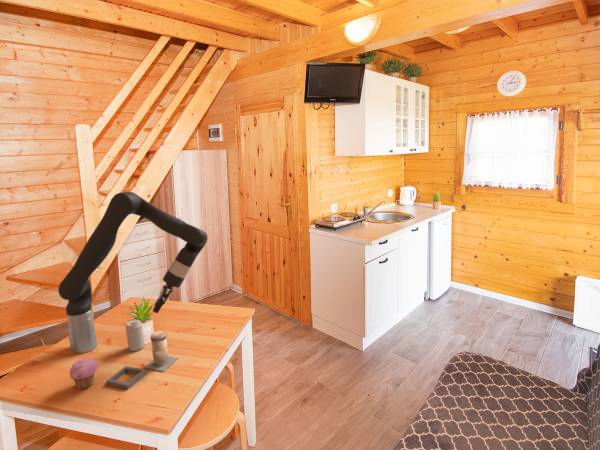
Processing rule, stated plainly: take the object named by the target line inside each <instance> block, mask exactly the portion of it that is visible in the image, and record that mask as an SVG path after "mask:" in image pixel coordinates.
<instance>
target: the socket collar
mask: <svg viewBox="0 0 600 450" xmlns="http://www.w3.org/2000/svg"><path fill="white" fill-rule="evenodd" d="M126 373H130V374H135V376H134V377H132V378H131V379H129V381H128V382H125V381H120V380H118V379H119V378H120V377H122V376H123V375H124V374H126ZM145 375H147V369H145V368H144V369H143V368H137V367H133V366H128V365H125V366H123V367H122V368H121V369H119V370H118V371H117V372H116V373H114V374H113V375H112V376H111V377H109V378H108V379H106V381H105V383H106V385H107V386H111V387H114V388H120V389H125V390H130V389H131V388H132V387H133V386H134V385H135V384H136V383H137V382H139V381H140V380H141V379H142V378H143V377H144V376H145Z"/></svg>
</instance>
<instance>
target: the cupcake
mask: <svg viewBox="0 0 600 450" xmlns="http://www.w3.org/2000/svg"><path fill="white" fill-rule="evenodd" d="M69 369H70V370H69V377H70V378H71V379H72V380H73V381H74V382H75V385H76V389H78V390H82V389H86V388H89V387H91V386H92V385H94V381H95V373H96V372H97V369H98V364H97V361H96V360H95V359H93V358H80V359H78V360H76V361H74V362H73V364H72V366H71V367H70V368H69Z"/></svg>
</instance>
